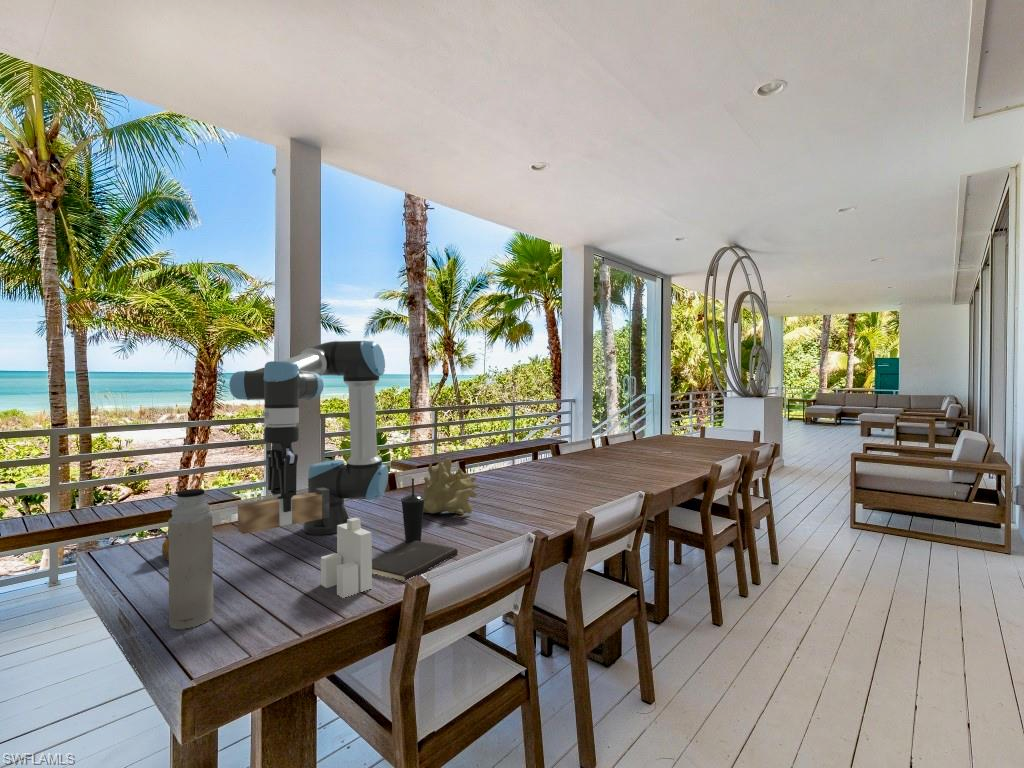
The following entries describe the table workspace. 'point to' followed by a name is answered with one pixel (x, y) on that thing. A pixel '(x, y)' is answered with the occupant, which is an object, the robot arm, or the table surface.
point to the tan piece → (267, 511)
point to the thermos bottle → (190, 561)
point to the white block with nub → (349, 560)
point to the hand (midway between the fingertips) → (281, 522)
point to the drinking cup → (413, 515)
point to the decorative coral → (448, 489)
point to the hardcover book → (411, 559)
